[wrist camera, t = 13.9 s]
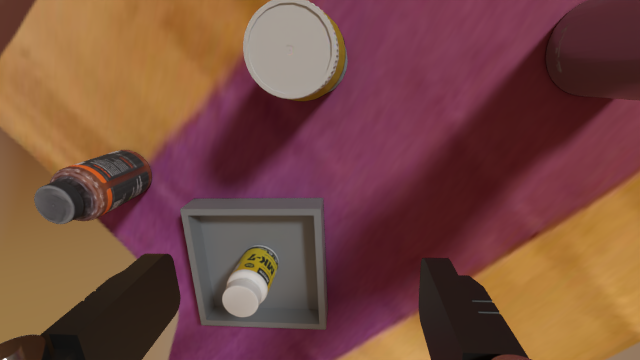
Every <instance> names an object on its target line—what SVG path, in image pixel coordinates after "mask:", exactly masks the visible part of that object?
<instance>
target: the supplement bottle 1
mask: <svg viewBox="0 0 640 360" xmlns="http://www.w3.org/2000/svg"><path fill="white" fill-rule="evenodd" d="M151 180H152V173H151V169H150V166H149V165H148V163H147V161H146V160H145V159H144V158H143V157H142V156H141V155H139V154H137V153H136V152H133V151H130V150H119V151H115V152H112V153H109V154H106V155H103V156H100V157H97V158H93V159H90V160H87V161H84V162H81V163H78V164H75V165H72V166H69V167H66V168H63V169H61V170H59V171H58V172H57V173H55V174H54V176H53V177H52V179H51V181H50V183H49V184H47V185H45V186H42V187H40V188H39V189H38V190H37V192H36V194H35V198H34V201H35V205H36V208H37V210H38V211H39V213H40V214H41V215H42V216H43V217H44V218H45V219H47V220H48V221H50V222H53V223H56V224H65V223H68V222H70V221H72V220H78V221H89V220H93V219H96V218H98V217H100V216H102V215H103V214H106V213H107V212H109V211H111V210H113V209H115V208H116V207H118V206H120V205H122V204H123V203H125V202H127V201H129V200H131V199H132V198H134V197H136V196H138V195H140V194H141V193H143V192H144V191H145V190H147V188H148V187H149V186H150V184H151Z"/></svg>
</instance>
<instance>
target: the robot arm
mask: <svg viewBox="0 0 640 360" xmlns="http://www.w3.org/2000/svg"><path fill="white" fill-rule="evenodd" d="M546 65H547V70H548V73H549V75H550V77H551V79H552V80H553V82H554V83H555V84H556V85H557V86H558V87H559V88H561V89H562V90H563V91H565V92H567V93H570V94H572V95H578V96H587V97H601V98H612V99H627V100H640V0H588V1H586V2H584V3H581V4H579V5H578V6H576V7H575V8H574V9H572V10H571V11H569V12H568V13H567V14H566V15H565V16H564V17H563V18H562V19H561V20H560V22H559V23H558V25H557V26H556V28H555V29H554V31H553V33H552V35H551V37H550V39H549V42H548V46H547V50H546ZM179 305H180V291H179V286H178V281H177V276H176V271H175V266H174V261H173V258H172V256H171V255H169V254H144V255H142V256H141V257H140V258H138V259H137V260H136V261H135V262H134V263H133V264H131V265H130V266H129V267H128V268H126V269H125V270H124V271H122V272H120V273H118V274H116V275H114V276H113V277H111V278H109V279H108V280H107V281H106V282H104V283H103V284H102V285H101V286H99V287H98V288H97V289H96V291H94V292H92V293H91V294H90V295H89V296H87V297H86V298H85V300H84V301H81V302H80V303H79V304H77V305H76V306H75V307H74V308H72V309H71V310H70V311H69V312H68V313H66V314H65V315H64V316H63V317H61V318H60V319H59V320H58V321H57V322H55V323H54V324H53V325H52V326H51V327H49V328H48V329H47V330H46V331H44V332H43V333H42V334H41V335H25V336H20V337H17V338H13V339H11V340H8V341H5V342H3V343H1V344H0V360H142V359H143V357H144V356H145V355H146V353H147V352H148V351H149V349H150V348H151V347H152V345H153V344H154V343H155V341H156V340H157V339H158V337H159V336H160V335H161V333H162V332H163V330H164V329H165V328H166V327H167V325H168V324H169V323H170V321H171V320H172V319H173V317H174V316H175V314H176V313H177V311H178V308H179ZM419 315H420V322H421V326H422V329H423V333H424V336H425V340H426V343H427V347H428V350H429V354H430V357H431V360H531V359H529V358H528V356H527V355H526V353H525V351H524V350H523V348H522V347H521V345H520V344H519V342H518V340H517V339H516V337H515V336H514V334H513V332H512V331H511V329H510V328H509V326H508V325H507V323H506V321H505V320H504V318H503V317H502V315H501V314H499V310H498V309H497V307H496V306H495V304H494V303H492V299H491V298H490V296H489V295H488V293H487V292H486V290H485V288H484V287H483V286H482V285H480V284H479V283H478V282H477V281H475V280H474V279H473V278H471V277H470V276H460V275H458V274H457V272H456V270H455V268H454V266H453V265H452V263H451V261H450V259H449V258H422V261H421V271H420V288H419Z"/></svg>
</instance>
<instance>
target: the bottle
mask: <svg viewBox="0 0 640 360" xmlns="http://www.w3.org/2000/svg"><path fill="white" fill-rule="evenodd" d="M243 50H244V58H245V62H246V65H247V68H248V70H249V72H250V74H251V76H252V77H253V79H254V80H255V81H256V83H258V85H259V86H260V87H262V88H263V89H264V90H266V91H267V92H268V93H271V94H272V95H274V96H277V97H281V98H283V99H284V98H287V99H289V100H295V101H308V100H314V99H317V98H319V97H321V96H323V95H325V94H326V93H328V92H330V91H332V90H333V89H335V88H336V87H337V85H338V84H339V83H340V82H341V81H342V79H343V77H344V75H345V72H346V68H347V53H346V48H345V43H344V39H343V36H342V34H341V32H340V30H339V28H338V26H337V25H336V24H335V22H334V21H333V20H332V19H331V18H330V17H329V16H328V15H327V14H325V13H324V12H323V11H322V10H320V9H319V7H316V6H315V5H314V4H313V3H310V2H309V1H306V0H272V1H270V2H268V3H266V4H265V5H263V6H262V7H261V8H260V9H259V10H258V11H257V12H256V13H255V14H254V15H253V17H252V18H251V20H250V22H249V24H248V26H247V29H246V32H245V36H244V43H243Z"/></svg>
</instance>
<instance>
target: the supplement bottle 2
mask: <svg viewBox="0 0 640 360" xmlns="http://www.w3.org/2000/svg"><path fill="white" fill-rule="evenodd" d="M278 265H279V261H278V257H277V255H276V253H275V252H274V251H273V250H272V249H270V248H268V247H266V246H262V245H256V246H252V247H250V248H249V249H248V250H247V251H246V252H245V253H244V255H243V256H242V258H241V259H240V261H239V263H238V264H237V266H236V267H235V269H234V270H233V272H232V274H231V275H230V277H229V279H228V281H227V287H226V290H225V291H224V293H223V296H222V302H223V305H224V307H225V309H226V310H227V311H228V312H229V313H231V314H232V315H235V316H237V317H248V316H251V315H252V314H254V313H255V312H256V310H257V309H258V307H259V304H260V303H262V302H263V301H264V300H265V298H266V296H267V294H268V291H269V289H270V287H271V284H272V282H273V279H274V277H275V274H276V272H277V269H278Z"/></svg>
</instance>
